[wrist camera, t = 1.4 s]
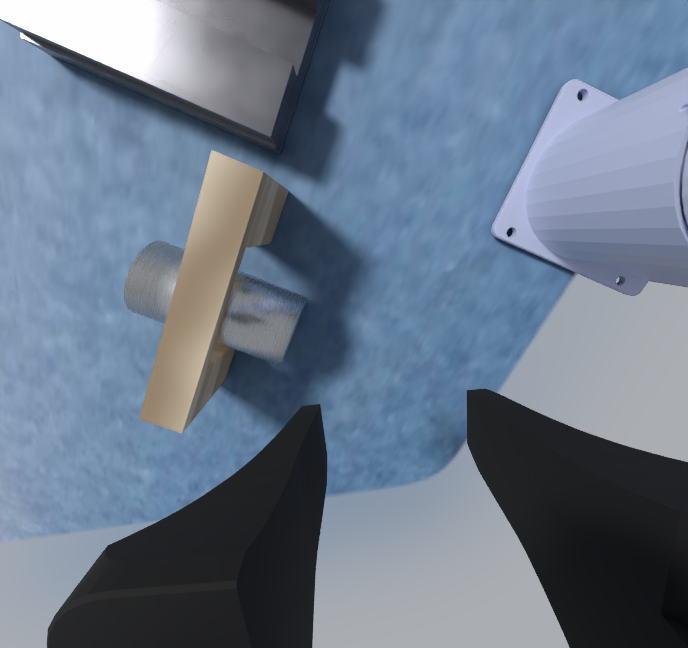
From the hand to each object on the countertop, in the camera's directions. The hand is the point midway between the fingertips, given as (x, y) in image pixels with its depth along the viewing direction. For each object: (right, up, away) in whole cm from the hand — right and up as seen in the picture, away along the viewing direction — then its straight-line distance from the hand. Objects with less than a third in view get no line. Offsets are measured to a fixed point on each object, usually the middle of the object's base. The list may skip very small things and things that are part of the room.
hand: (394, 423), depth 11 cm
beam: (-8, +6, +8) cm, 13 cm away
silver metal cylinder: (-8, +6, +8) cm, 13 cm away
